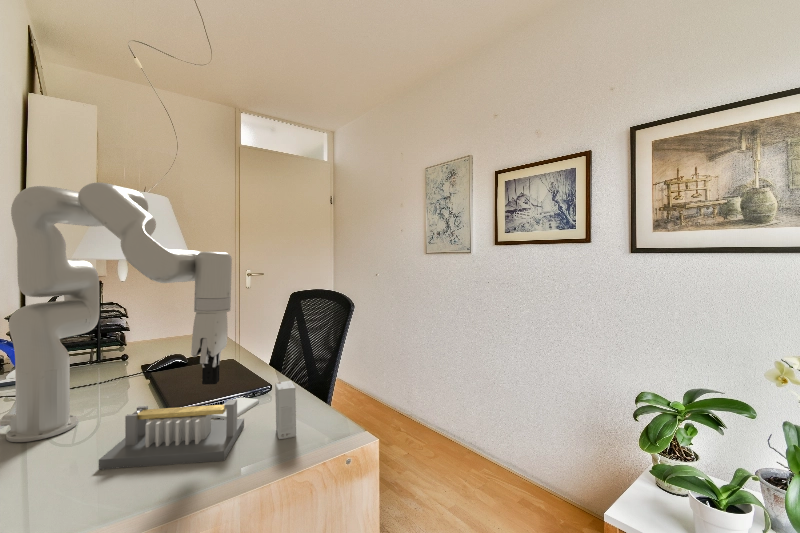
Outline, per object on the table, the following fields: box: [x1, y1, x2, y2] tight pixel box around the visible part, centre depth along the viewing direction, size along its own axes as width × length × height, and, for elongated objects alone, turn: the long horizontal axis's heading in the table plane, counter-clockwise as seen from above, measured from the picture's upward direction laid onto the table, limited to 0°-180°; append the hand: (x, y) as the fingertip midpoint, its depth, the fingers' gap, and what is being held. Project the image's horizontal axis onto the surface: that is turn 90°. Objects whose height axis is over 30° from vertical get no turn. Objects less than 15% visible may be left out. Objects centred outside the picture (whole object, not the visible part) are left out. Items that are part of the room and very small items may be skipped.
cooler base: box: [98, 399, 245, 470], centre depth 83 cm, size 24×16×10 cm, turn 99°
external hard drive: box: [211, 396, 260, 420], centre depth 103 cm, size 2×8×12 cm
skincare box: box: [274, 380, 297, 440], centre depth 90 cm, size 6×4×12 cm
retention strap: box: [132, 404, 226, 420], centre depth 83 cm, size 20×3×2 cm, turn 99°
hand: (210, 382), depth 84 cm, fingers closed
